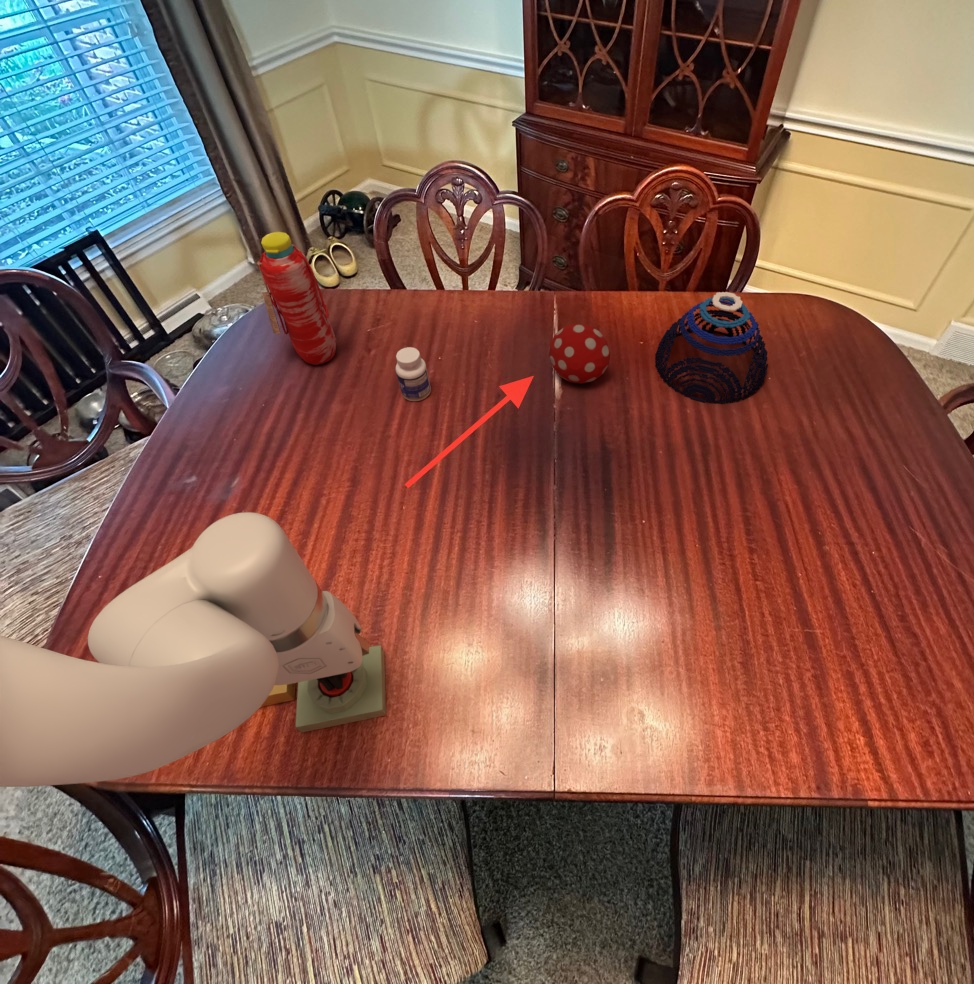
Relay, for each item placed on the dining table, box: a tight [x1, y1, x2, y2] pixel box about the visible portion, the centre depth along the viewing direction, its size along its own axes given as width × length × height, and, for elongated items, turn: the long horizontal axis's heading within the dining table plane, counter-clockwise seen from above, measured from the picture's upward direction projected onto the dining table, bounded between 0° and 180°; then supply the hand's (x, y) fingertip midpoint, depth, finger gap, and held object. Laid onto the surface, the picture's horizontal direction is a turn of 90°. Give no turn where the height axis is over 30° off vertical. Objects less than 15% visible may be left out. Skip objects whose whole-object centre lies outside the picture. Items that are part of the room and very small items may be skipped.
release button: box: [320, 672, 353, 698], centre depth 72 cm, size 4×4×2 cm
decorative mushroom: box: [548, 323, 611, 385], centre depth 109 cm, size 11×11×15 cm
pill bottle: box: [395, 346, 432, 402], centre depth 105 cm, size 5×5×9 cm
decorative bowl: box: [654, 291, 769, 405], centre depth 106 cm, size 20×20×14 cm
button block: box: [294, 644, 387, 734], centre depth 73 cm, size 10×8×4 cm
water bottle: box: [256, 231, 337, 366], centre depth 105 cm, size 12×8×25 cm, turn 86°
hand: (335, 676), depth 71 cm, fingers closed
